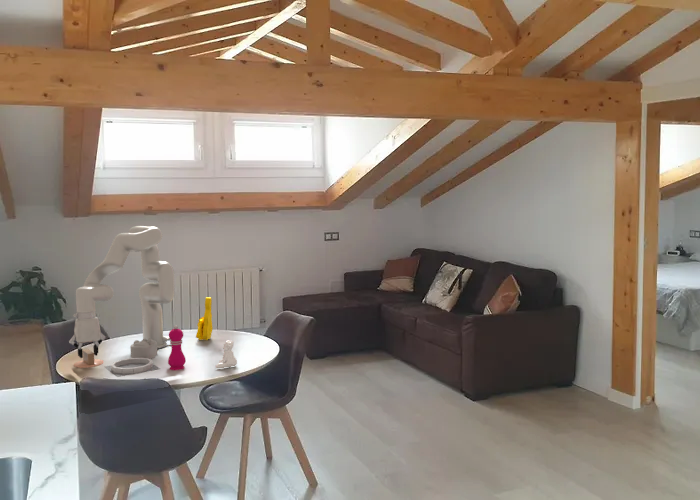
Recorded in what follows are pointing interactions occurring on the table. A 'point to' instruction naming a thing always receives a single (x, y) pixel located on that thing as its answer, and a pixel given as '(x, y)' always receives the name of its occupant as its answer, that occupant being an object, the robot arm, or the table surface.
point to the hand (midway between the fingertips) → (88, 355)
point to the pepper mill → (176, 350)
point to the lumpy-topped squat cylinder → (144, 349)
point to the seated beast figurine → (227, 356)
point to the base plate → (131, 366)
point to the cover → (88, 360)
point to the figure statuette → (205, 322)
